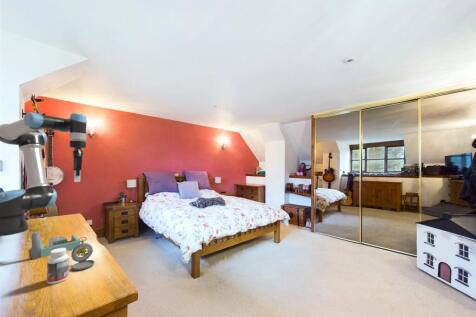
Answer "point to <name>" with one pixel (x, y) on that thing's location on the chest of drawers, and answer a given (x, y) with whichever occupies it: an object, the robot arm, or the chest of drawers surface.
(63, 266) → the pill bottle
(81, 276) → the chest of drawers surface
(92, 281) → the chest of drawers surface
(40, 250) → the keeper
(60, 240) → the grey rectangular block
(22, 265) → the chest of drawers surface
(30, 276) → the chest of drawers surface
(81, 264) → the pocket watch
